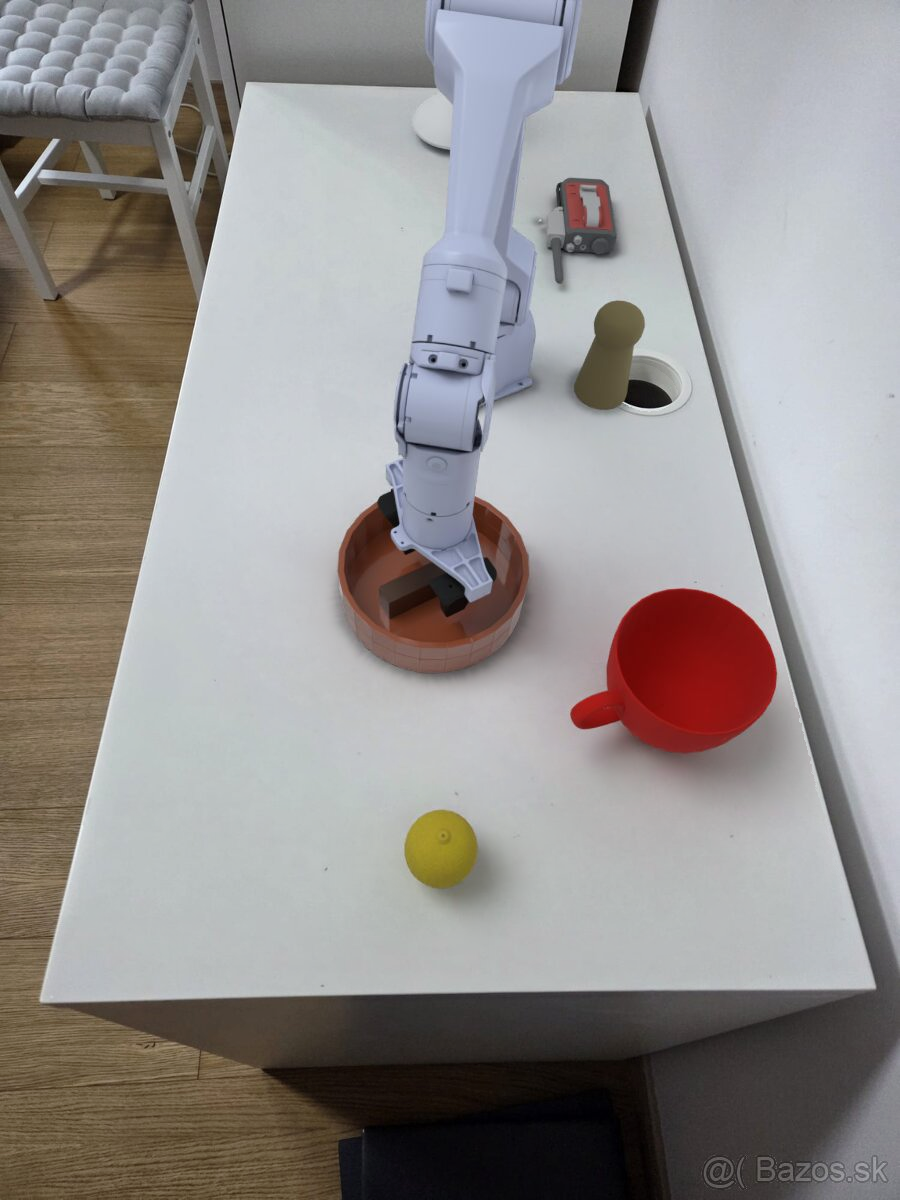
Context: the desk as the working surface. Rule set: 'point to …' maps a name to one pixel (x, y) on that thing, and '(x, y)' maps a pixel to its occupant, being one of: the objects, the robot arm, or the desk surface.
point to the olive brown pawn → (610, 356)
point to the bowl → (424, 629)
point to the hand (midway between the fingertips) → (433, 578)
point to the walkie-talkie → (580, 220)
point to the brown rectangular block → (408, 590)
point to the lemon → (441, 849)
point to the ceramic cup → (684, 673)
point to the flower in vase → (434, 121)
